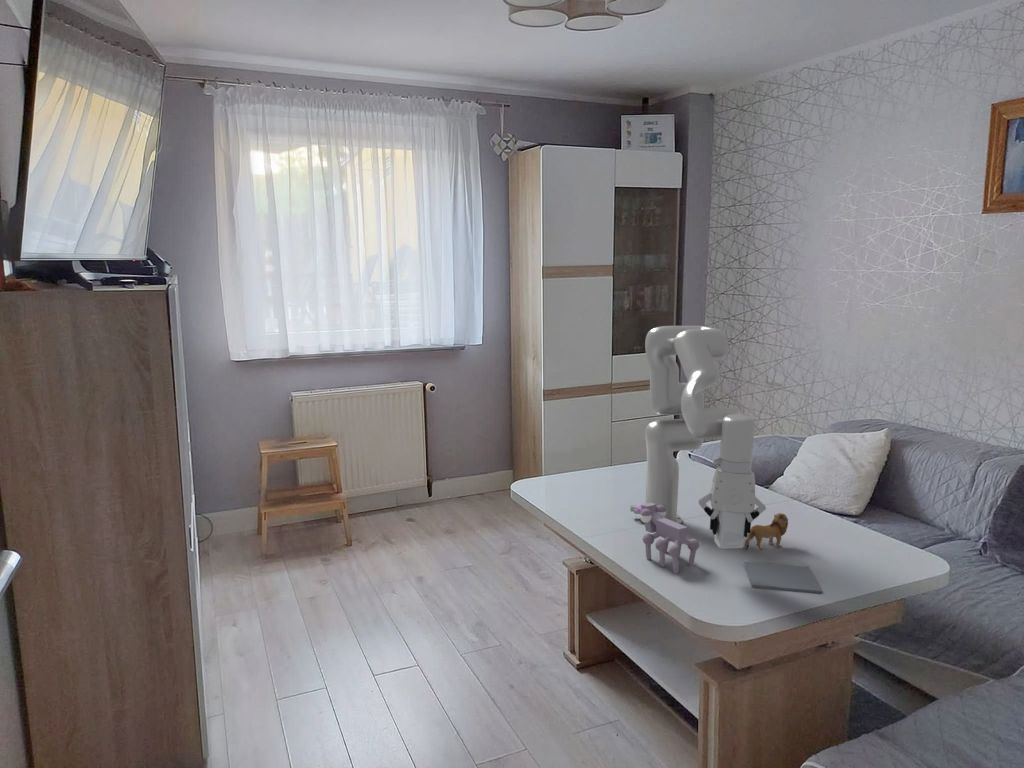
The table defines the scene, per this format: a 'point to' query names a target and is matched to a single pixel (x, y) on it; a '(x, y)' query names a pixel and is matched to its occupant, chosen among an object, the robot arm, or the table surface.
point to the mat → (781, 577)
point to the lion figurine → (769, 531)
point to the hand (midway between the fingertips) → (729, 533)
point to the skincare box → (730, 529)
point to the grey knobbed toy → (665, 534)
